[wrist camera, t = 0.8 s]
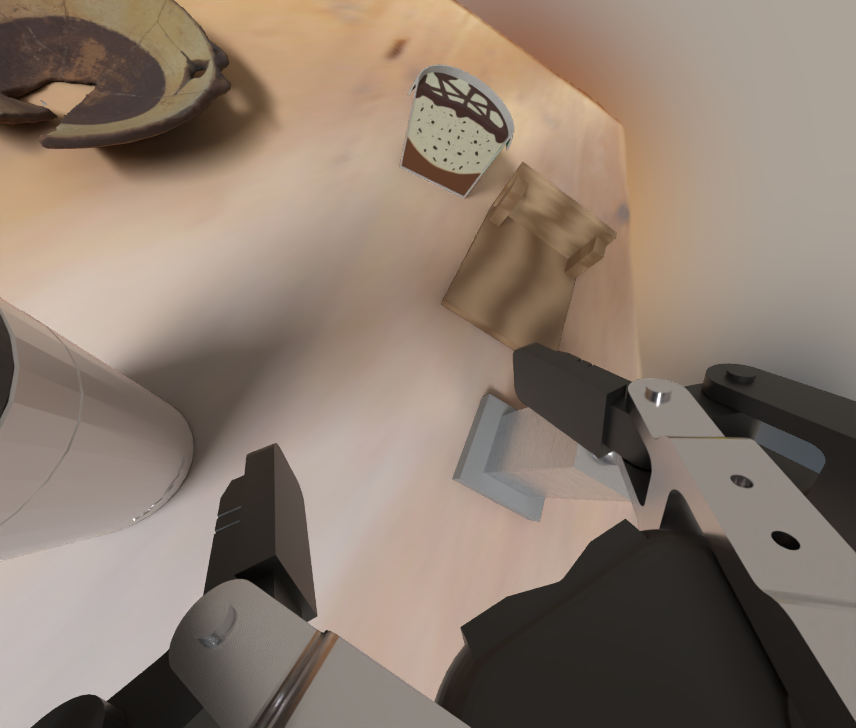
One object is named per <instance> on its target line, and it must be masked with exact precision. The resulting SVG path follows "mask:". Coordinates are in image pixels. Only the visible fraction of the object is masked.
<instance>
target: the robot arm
mask: <svg viewBox="0 0 856 728" xmlns="http://www.w3.org/2000/svg"><path fill="white" fill-rule="evenodd" d="M513 367H514V386H515V391H516V394H517V396H518V398H519V399H520V401H521V402H522V403H524V404H525V405H526V406H528V407H529V408H530V409H532V410H533V411H534V412H536V413H537V414H539V415H540V416H541V417H543V418H544V419H545V420H547V421H548V422H550V423H551V424H552V425H554V426H555V427H556V428H558V429H559V430H560V431H562V432H563V433H565V434H566V435H567V436H569V437H570V438H571V439H573V440H574V441H576V442H577V443H578V444H580V445H581V446H582V447H584V448H585V449H586V450H588V451H589V452H591V453H592V454H593V455H595V456H596V457H597V458H599V459H600V458H602V457H604V456H606V455H607V454H609V453H611V452H613V451H614V452H616V453H617V454H618V458H617V463H618V466H619V469H620V472H621V475H622V477H623V480H624V483H625V486H626V489H627V491H628V494H629V497H630V500H631V502H632V505H633V508H634V511H635V514H636V517H637V522H638V529H637V528H636V527H635V526H633V525H632V524H631V523H630V522H629V521H628V520H626V519H624V520H623V521H621V522H620V523H618V524H617V525H615V526H614V527H612V528H611V529H609V530H608V531H606V532H605V533H603V534H602V535H600V536H599V537H597V538H596V539H594V540H592V541H591V542H590V543H589V544H588V546H587V547H586V549H585V550H584V551H583V553H582V554H581V555H580V557H579V558H578V559H577V561H576V562H575V563H574V565H573V566H572V567H571V569H570V570H569V572H568V573H567V574H566V576H565V577H564V578H563V579H562V580H561V581H559V582H557V583H554V584H550V585H547V586H543V587H539V588H536V589H532V590H529V591H525V592H522V593H518V594H515V595H511V596H508V597H506V598H504V599H503V600H501V601H500V602H498V603H497V604H495V605H494V606H492V607H491V608H489V609H487V610H486V611H484V612H483V613H481V614H480V615H478V616H477V617H475V618H474V619H472V620H471V621H469V622H468V623H466V624H465V625H463V626H462V627H460V628H461V632H462V635H463V639H464V643H465V645H464V647H463V648H462V649H461V651H460V652H459V653H458V654H457V656H456V657H455V659H454V660H453V662H452V664H451V665H450V667H449V669H448V670H447V672H446V674H445V676H444V679H443V681H442V683H441V685H440V687H439V690H438V693H437V696H436V699H435V702H434V701H432V700H431V699H429V698H428V697H426V696H425V695H423V694H422V693H421V692H419V691H418V690H416V689H415V688H413V687H412V686H411V685H409V684H408V683H406V682H405V681H403V680H402V679H401V678H399V677H398V676H396V675H395V674H393V673H392V672H390V671H389V670H388V669H386V668H385V667H383V666H382V665H380V664H379V663H378V662H376V661H375V660H373V659H372V658H370V657H369V656H368V655H366V654H365V653H363V652H362V651H360V650H359V649H357V648H356V647H355V646H353V645H352V644H350V643H349V642H347V641H346V640H345V639H343V638H342V637H340V636H338V635H337V634H335V633H333V632H331V631H328V630H326V631H325V633H323V632H320V631H319V630H317V629H316V628H314V627H313V626H311V625H310V624H309V623H307V622H308V621H310V620H312V619H313V618H315V617H317V609H316V600H315V591H314V583H313V574H312V566H311V557H310V549H309V540H308V532H307V523H306V515H305V506H304V499H303V495H302V491H301V488H300V486H299V483H298V481H297V479H296V477H295V475H294V473H293V471H292V470H291V468H290V466H289V464H288V462H287V460H286V458H285V456H284V454H283V452H282V451H281V449H280V447H279V446H278V444H277V443H275V444H272V445H269V446H267V447H264V448H262V449H259V450H257V451H254V452H252V453H249V454H247V456H246V465H245V475H244V476H241V477H239V478H236V479H234V480H232V481H231V483H230V484H229V486H228V487H227V489H226V491H225V492H224V494H223V495H222V497H221V499H220V505H219V510H218V519H217V521H216V527H215V532H216V534H214V538H213V544H212V549H211V555H210V560H209V566H208V571H207V577H206V583H205V588H204V594H203V596H202V597H201V598H200V599H199V600H198V601H197V602H196V603H195V604H194V605H193V606H192V607H191V609H190V610H189V611H188V612H187V613H186V615H185V616H184V618H183V619H182V620H181V622H180V624H179V625H178V627H177V629H176V631H175V633H174V635H173V638H172V641H171V644H170V648H169V650H168V651H167V652H166V653H165V654H163V655H162V656H161V657H160V658H159V659H158V660H157V661H155V662H154V663H153V664H152V665H150V666H149V667H148V668H147V669H146V670H144V671H143V672H142V673H141V674H139V675H138V676H137V677H136V678H135V679H133V680H132V681H131V682H130V683H128V684H127V685H126V686H125V687H123V688H122V689H121V690H120V691H119V692H117V693H116V694H115V695H114V696H112V697H111V698H110V699H109V700H108V701H105V700H103V699H101V698H99V697H98V696H96V695H90V694H88V695H81V696H78V697H75V698H73V699H71V700H69V701H67V702H65V703H63V704H61V705H60V706H58V707H57V708H55V709H53V710H52V711H51V712H49V713H48V714H47V715H45V716H44V717H43V718H41V719H40V720H39V721H38V722H37V723H36V724H34V725H33V726H32V727H31V728H856V401H853V400H850V399H847V398H844V397H841V396H838V395H835V394H832V393H829V392H826V391H823V390H820V389H817V388H814V387H811V386H808V385H805V384H802V383H799V382H796V381H793V380H790V379H787V378H784V377H781V376H778V375H775V374H772V373H769V372H766V371H763V370H760V369H757V368H754V367H750V366H745V365H738V364H718V365H714V366H712V367H709V368H708V369H707V371H706V374H705V378H704V381H703V383H702V384H696V385H691V386H686V387H683V386H681V385H679V384H677V383H675V382H672V381H668V380H664V379H658V378H643V379H638V380H635V381H633V382H631V381H629V380H626V379H624V378H622V377H620V376H618V375H615V374H613V373H611V372H609V371H607V370H604V369H602V368H600V367H598V366H595V365H593V366H592V364H591V363H589V362H587V361H584V360H583V361H582V360H581V359H580V358H578V357H576V356H573V355H571V354H569V353H565V352H560V351H555V350H552V349H550V348H548V347H546V346H544V345H541V344H539V343H537V342H534V343H531V344H528V345H526V346H523V347H521V348H518V349H516V350H515V351H514V353H513ZM761 422H764V423H767V424H769V425H771V426H773V427H776V428H778V429H780V430H783V431H785V432H787V433H790V434H792V435H794V436H796V437H798V438H801V439H803V440H805V441H807V442H810V443H812V444H813V445H815V446H816V447H817V448H819V449H820V450H821V451H822V453H823V454H824V456H825V459H826V463H825V465H824V467H823V469H822V470H821V472H820V474H819V473H816V472H814V471H812V470H810V469H808V468H806V467H804V466H802V465H800V464H798V463H796V462H794V461H792V460H790V459H788V458H786V457H784V456H782V455H780V454H778V453H776V452H774V451H772V450H770V449H768V448H766V447H764V446H762V445H760V444H758V443H756V442H755V441H754V438H755V436H756V434H757V431H758V429H759V426H760V424H761ZM193 451H194V445H193V436H192V433H191V430H190V428H189V425H188V423H187V421H186V420H185V419H184V418H183V416H182V415H181V414H180V412H178V411H177V410H176V409H175V408H173V407H172V406H171V405H170V404H168V403H167V402H165V401H163V400H162V399H160V398H159V397H157V396H156V395H154V394H153V393H151V392H150V391H148V390H147V389H145V388H144V387H142V386H140V385H139V384H137V383H136V382H134V381H132V380H131V379H129V378H128V377H126V376H125V375H123V374H121V373H120V372H118V371H117V370H115V369H113V368H112V367H110V366H109V365H107V364H106V363H104V362H102V361H101V360H99V359H98V358H96V357H95V356H93V355H91V354H90V353H88V352H87V351H85V350H83V349H82V348H80V347H79V346H77V345H76V344H74V343H72V342H71V341H69V340H68V339H66V338H64V337H63V336H61V335H60V334H58V333H57V332H55V331H53V330H52V329H50V328H49V327H47V326H45V325H44V324H42V323H41V322H39V321H38V320H36V319H34V318H33V317H31V316H30V315H28V314H27V313H25V312H23V311H21V310H19V309H18V308H16V307H15V306H13V305H11V304H10V303H8V302H7V301H5V300H4V299H2V298H0V561H4V560H7V559H11V558H15V557H19V556H23V555H27V554H30V553H34V552H38V551H42V550H46V549H50V548H54V547H57V546H61V545H65V544H69V543H73V542H77V541H81V540H85V539H89V538H93V537H96V536H100V535H104V534H108V533H112V532H115V531H118V530H121V529H123V528H126V527H128V526H131V525H134V524H135V523H137V522H139V521H141V520H143V519H144V518H146V517H148V516H150V515H151V514H153V513H154V512H155V511H156V510H158V509H159V508H160V507H161V506H163V505H164V504H165V503H166V502H167V501H168V500H169V499H170V498H171V497H172V496H173V495H174V494H175V492H176V491H177V490H178V489H179V487H180V486H181V484H182V482H183V481H184V479H185V478H186V476H187V474H188V471H189V468H190V466H191V463H192V458H193Z"/></svg>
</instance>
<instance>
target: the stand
mask: <svg viewBox="0 0 856 728" xmlns="http://www.w3.org/2000/svg"><path fill="white" fill-rule="evenodd" d="M515 411H518V410H516V409H515V408H513V407H511V406H510V405H508V404H506V403H505V402H503V401H501V400H500V399H498V398H496V397H494V396H493V395H491V394H488V395H486V396H484V397H482V399H481V402H480V405H479V408H478V410H477V413H476V416H475V419H474V421H473V424H472V427H471V430H470V432H469V435H468V438H467V441H466V443H465V446H464V449H463V452H462V454H461V457H460V460H459V463H458V465H457V468H456V471H455V474H454V476H453V480H455V481H457V482H459V483H461V484H463V485H465V486H466V487H468V488H470V489H472V490H474V491H476V492H478V493H480V494H481V495H483V496H485V497H487V498H489V499H491V500H493V501H495V502H496V503H498V504H500V505H502V506H504V507H506V508H508V509H510V510H512V511H513V512H515V513H517V514H519V515H521V516H523V517H525V518H527V519H528V520H532V521H539V522H540V518H541V514H542V509H543V505H544V500H545V497H527V496H525V495H523V494H521V493H519V492H518V491H516V490H514V489H512V488H510V487H508V486H507V485H505V484H503V483H501V482H499V481H497V480H496V479H494V478H492V477H490V476H488V475H486V474H485V473H483V472H484V469H485V466H486V463H487V460H488V457H489V454H490V450H491V447H492V444H493V441H494V438H495V435H496V432H497V429H498V426H499V422H500V419H501V416H503V415H506V414H509V413H512V412H515Z"/></svg>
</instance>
